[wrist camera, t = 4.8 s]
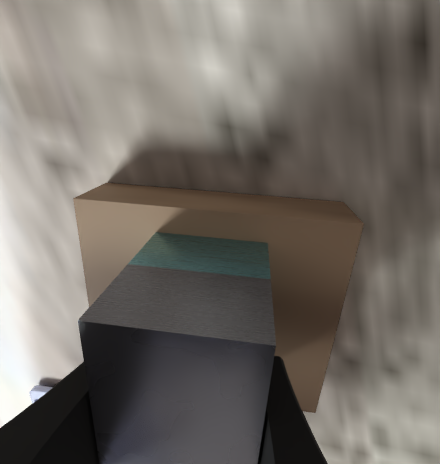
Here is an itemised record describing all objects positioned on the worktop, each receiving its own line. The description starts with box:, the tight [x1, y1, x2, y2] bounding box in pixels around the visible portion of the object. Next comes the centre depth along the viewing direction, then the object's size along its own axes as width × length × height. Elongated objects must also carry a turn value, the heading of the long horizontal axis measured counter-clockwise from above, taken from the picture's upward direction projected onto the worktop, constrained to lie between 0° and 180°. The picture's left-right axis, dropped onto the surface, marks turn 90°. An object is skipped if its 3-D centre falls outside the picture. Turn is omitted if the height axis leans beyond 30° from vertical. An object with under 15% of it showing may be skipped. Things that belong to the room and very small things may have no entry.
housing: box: [78, 232, 276, 464], centre depth 9 cm, size 6×4×5 cm, turn 177°
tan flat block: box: [74, 183, 364, 413], centre depth 13 cm, size 9×10×2 cm
